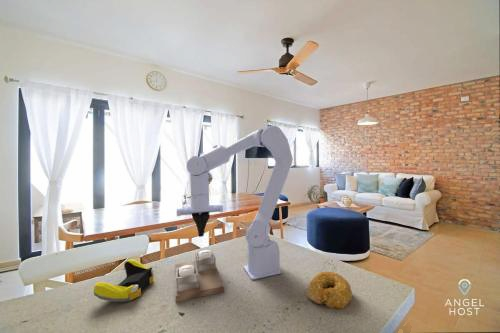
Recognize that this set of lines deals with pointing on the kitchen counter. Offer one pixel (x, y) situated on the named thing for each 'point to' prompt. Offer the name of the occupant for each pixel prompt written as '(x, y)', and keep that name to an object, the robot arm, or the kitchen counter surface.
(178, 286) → the knob board
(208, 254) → the knob right
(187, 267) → the knob left
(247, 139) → the robot arm
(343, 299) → the bagel
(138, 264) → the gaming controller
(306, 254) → the kitchen counter surface
